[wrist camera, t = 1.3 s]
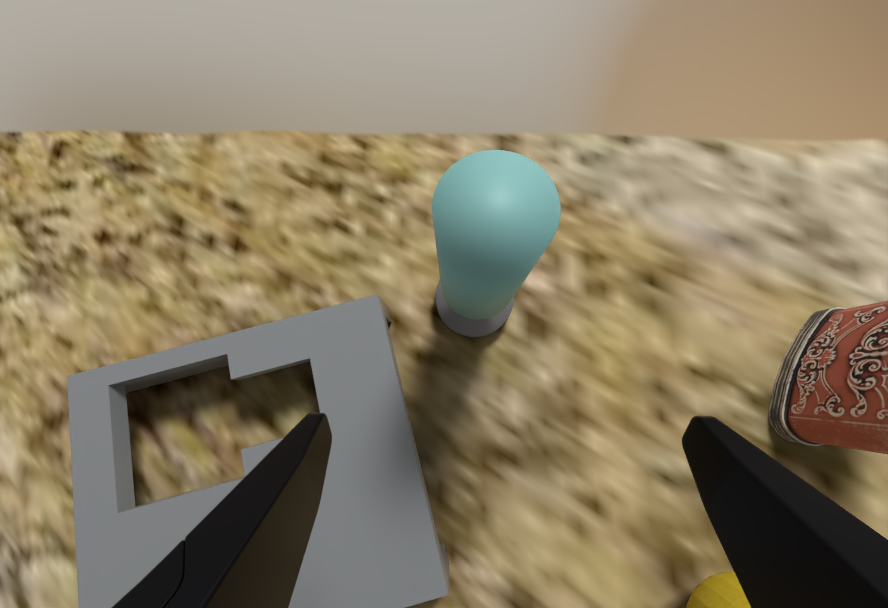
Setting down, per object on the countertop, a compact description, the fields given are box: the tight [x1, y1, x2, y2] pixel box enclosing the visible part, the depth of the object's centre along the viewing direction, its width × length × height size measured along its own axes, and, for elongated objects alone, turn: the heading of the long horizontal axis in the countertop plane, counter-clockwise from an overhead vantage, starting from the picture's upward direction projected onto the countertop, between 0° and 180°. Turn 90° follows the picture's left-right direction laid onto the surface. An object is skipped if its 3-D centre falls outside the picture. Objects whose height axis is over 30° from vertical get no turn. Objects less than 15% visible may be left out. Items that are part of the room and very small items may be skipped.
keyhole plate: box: [67, 294, 449, 608], centre depth 19 cm, size 14×16×3 cm
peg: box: [432, 150, 561, 338], centre depth 17 cm, size 4×4×12 cm
